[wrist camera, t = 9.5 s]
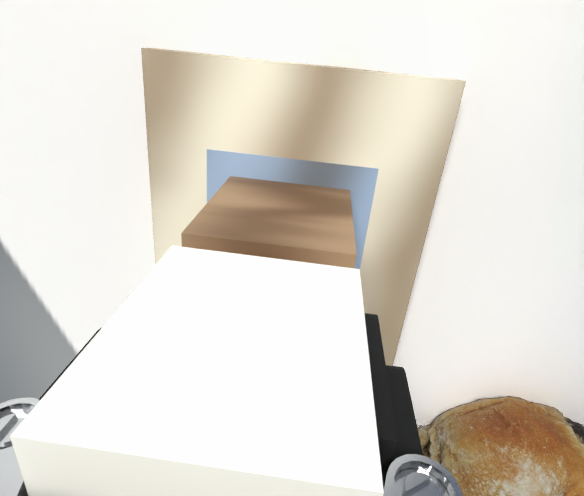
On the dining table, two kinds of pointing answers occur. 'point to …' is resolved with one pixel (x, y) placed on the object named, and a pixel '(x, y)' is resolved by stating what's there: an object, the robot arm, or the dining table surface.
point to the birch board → (304, 151)
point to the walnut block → (277, 222)
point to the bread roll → (508, 448)
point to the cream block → (215, 388)
